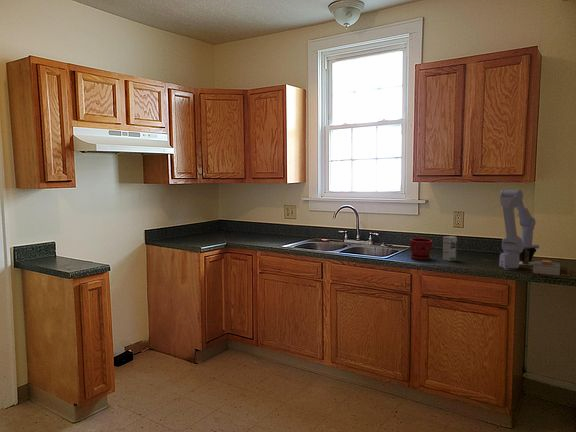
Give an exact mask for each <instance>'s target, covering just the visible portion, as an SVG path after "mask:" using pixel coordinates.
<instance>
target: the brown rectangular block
mask: <svg viewBox="0 0 576 432" xmlns="http://www.w3.org/2000/svg"><path fill="white" fill-rule="evenodd" d="M522 262H523V263H522V264H529V262H530V261H529V251H527V250H526V251H525V254H524V261H522ZM522 264H521V265H522Z"/></svg>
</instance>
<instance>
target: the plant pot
mask: <svg viewBox="0 0 576 432" xmlns="http://www.w3.org/2000/svg"><path fill="white" fill-rule="evenodd" d="M409 241H410V243H409V245H410V246H409V248H410V253H411V254H410V257H411V258H412V259H413V260H420V261H423V260H425V261H426V260H429V259H430V258H431V255H430V254H431V251H432V248H433V240H432V239H429V238H424V237H423V238H422V237H421V238H420V237H415V238H410V239H409Z"/></svg>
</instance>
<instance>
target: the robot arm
mask: <svg viewBox="0 0 576 432" xmlns="http://www.w3.org/2000/svg"><path fill="white" fill-rule="evenodd" d="M523 198H524V193H523V191H522V189H502V190H501V191H500V194H499V199H500V200H499V201H500V206H501V207H502V212H503V218H504V228H505V235H506V236H504V237H502V239H501V249H502V251H503V252H501V253H500V255H499V260H498V261H499V262H498V266H499V267H501V269H503V270H505V271H507V270H509V271H510V270H511V271H516V270H517V271H519V270H520V269H519V268H520V264H519V261H521V262H523V261H524V254H525V251H529V262H532V260H533V257H534V255H535V253H536V252H537V249H540V244H533V236H534V230H535V226H536V223H537V222H536V219H535V218H534V217H533V216H532V215H531V213H530V211H529V209H528V208H527V207H525V205H524V202H523ZM515 208H516V209H517V210H516V214H517V216H518V218H519V225H520V226H521V235H520V236H519V235H518V233H517V225H516V218H515V217H516V216H515Z"/></svg>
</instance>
